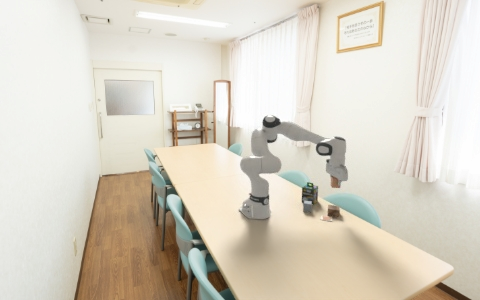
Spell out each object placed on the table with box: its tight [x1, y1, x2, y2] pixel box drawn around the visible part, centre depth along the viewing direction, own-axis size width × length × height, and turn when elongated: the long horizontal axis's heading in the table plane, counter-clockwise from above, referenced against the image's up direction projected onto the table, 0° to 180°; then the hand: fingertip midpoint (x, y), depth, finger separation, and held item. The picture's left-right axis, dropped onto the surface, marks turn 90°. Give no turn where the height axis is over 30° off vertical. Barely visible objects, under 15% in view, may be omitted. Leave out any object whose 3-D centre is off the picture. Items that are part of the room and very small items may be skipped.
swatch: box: [320, 215, 333, 223], centre depth 167 cm, size 7×6×1 cm
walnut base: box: [327, 204, 341, 218], centre depth 172 cm, size 7×7×5 cm
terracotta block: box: [330, 176, 342, 189], centre depth 169 cm, size 5×5×6 cm
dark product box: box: [301, 181, 319, 205], centre depth 192 cm, size 9×9×15 cm
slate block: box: [302, 200, 313, 213], centre depth 178 cm, size 5×5×6 cm
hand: (335, 183), depth 169 cm, fingers closed on terracotta block, 6 cm apart
